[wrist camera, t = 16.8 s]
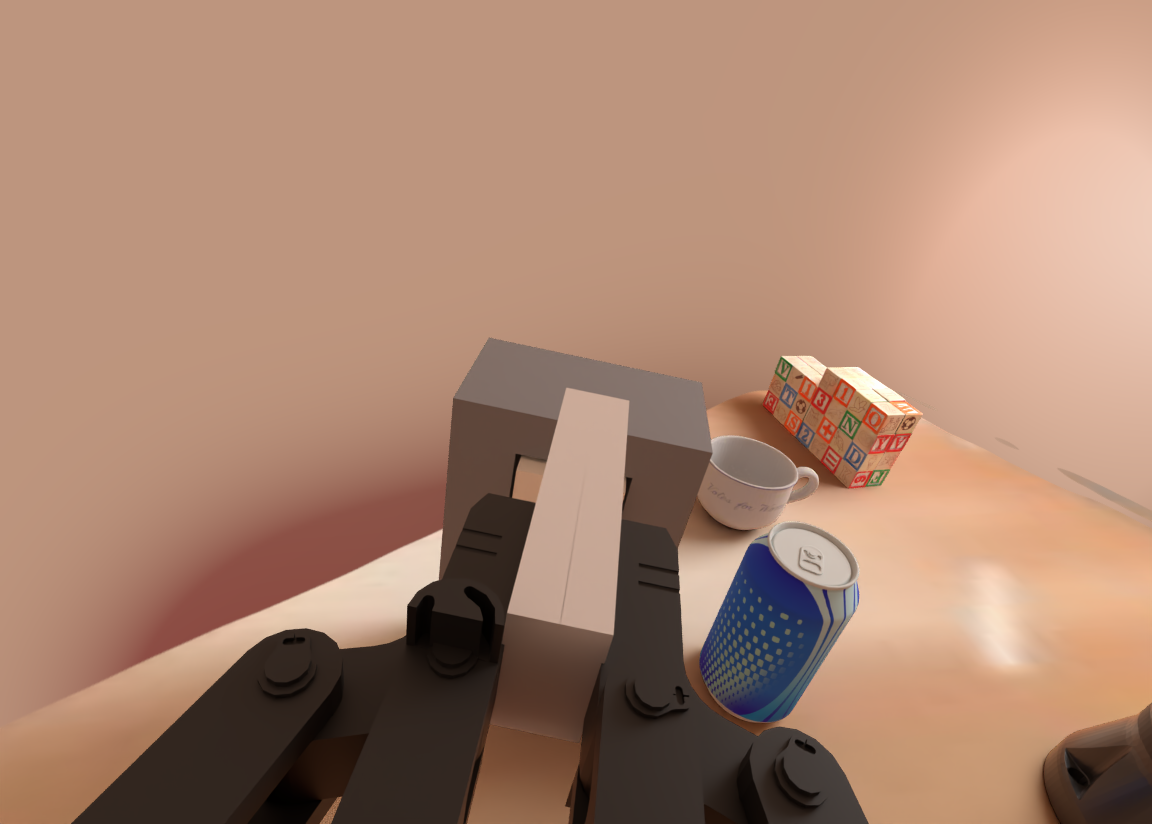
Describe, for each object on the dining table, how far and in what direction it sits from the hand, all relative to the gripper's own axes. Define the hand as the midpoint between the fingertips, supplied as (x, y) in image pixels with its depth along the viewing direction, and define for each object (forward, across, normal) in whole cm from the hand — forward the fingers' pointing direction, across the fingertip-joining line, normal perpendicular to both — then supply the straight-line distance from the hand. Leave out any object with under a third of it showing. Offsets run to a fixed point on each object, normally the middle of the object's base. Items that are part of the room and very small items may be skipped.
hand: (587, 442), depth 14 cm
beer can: (+21, +18, -36) cm, 46 cm away
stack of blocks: (+66, +36, -36) cm, 84 cm away
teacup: (+45, +22, -36) cm, 62 cm away
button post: (+18, 0, -36) cm, 40 cm away
